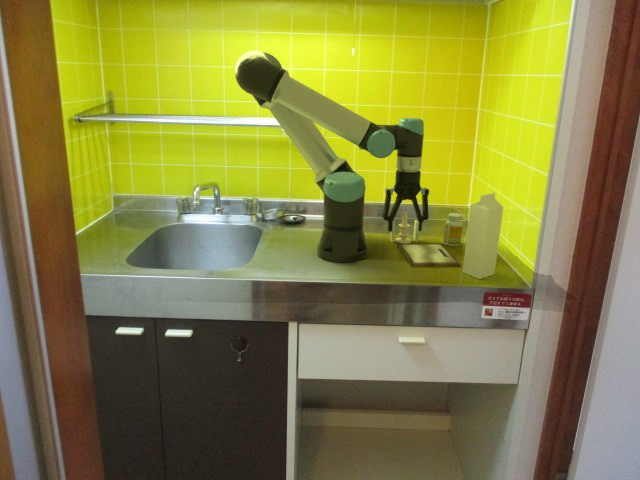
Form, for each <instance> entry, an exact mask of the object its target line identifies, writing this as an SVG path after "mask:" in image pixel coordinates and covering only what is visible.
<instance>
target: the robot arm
mask: <svg viewBox="0 0 640 480" xmlns="http://www.w3.org/2000/svg"><path fill="white" fill-rule="evenodd" d="M234 76H235V77H234V78H235V80H236V82H237V85H238V86H239V87H240V89H242V90H243V91H244V92H245V93H247V94H249V95H251V96H252V97H253V98H254V99H255V102H256V103H257V104H258V105H259V106H260V108H262V109H267V110H269V112H270V113H271V114H272V116H273V117H274V119H275V120H276V121H277V122H278V125H279V126H280V127H281V128H282V130H283V131H284V132H285V134H286V135H287V137H288V138H289V139H290V140H291V142H292V143H293V144H294V146H295V148H296V149H297V150H298V152H299V153H300V154H301V156H302V158H303V159H304V160H305V161H306V163H307V164H308V166H309V167H310V168H311V171H313V172H314V174H315V176H314V182H315V183H316V185H317V186H318V188H319V189H320V190H321V192H322V193H323V226H322V227H323V229H322V231H321V234H320V237H319V241H318V242H317V247H316V254H317V256H318V257H319V256H320V258H321V259H323V258H324V259H323V260H325V259H327V260H326V261H329V262H334V261H335V263H355V262H359V261H363V260H365V259H366V258H367V257H368V255H369V245H368V242H367V238H366V236H365V231H364V214H365V211H364V210H365V197H366V196H365V194H366V193H365V192H366V188H367V187H366V182H365V181H366V180H365V179H364V177H363V176H362V175H360V174H358V173H357V171H355V170H354V169H353V167H352V166H351V165H350V164H349V162H348V161H347V160H346V158H344V157H343V158H342V157H339V156H338V155H337V154H336V153H335V150H334V149H333V148H332V147H331V146H330V144H329V143H328V141H327V140H326V138H325V137H324V135H323V134H322V132H321V131H320V130H319V128H318V127H317V125H318V126H320V127H322V128H324V129H325V130H328V131H329V132H331V133H333V134H335V135H337V136H339V137H341V138H342V139H344V140H346V141H347V142H350V143H351V144H354V145H355V146H357V147H358V149H359V150H363V151H366V152H368V153H369V154H370V156H372V157H375V158H377V159H386V158H388V157H389V156H390V155H392V153H393V152H394V151H396V152H397V153H396V167H395V168H396V171H395V183H394V185H393V187H390V188H388V187H385V189H384V192H385V198H384V204H383V211H382V216H381V217H382V219H383V220H384V221H387V231H388V233H389V232H390V233H389V234H390V235H389V241H390V242H391V243H394V242H395V235H396V234H395V233H396V221H395V217H396V214H397V212H398V210H399V209H400V206H401V204H402V202H403V201H405V200H409V201H411V203H412V207H413V210H414V213H415V216H416V219H414V224H413V238H412V239H413V240H414V242H415V243H418V241H419V232H421V231H422V229H423V228H422V227H423V222H424V221H429V195H430V189H429V188H427V187H421V175H422V174H421V169H422V160H423V159H422V157H423V147H424V136H425V133H424V132H425V131H424V128H425V122H424V120H423V119H422V118H419V117H418V118H417V117H402V118H399V119H398V123H397V124H377V123H374V122H372V121H371V120H368V119H367V118H366V117H364V116H361V115H360V114H358V113H356V112H354V111H353V110H351V109H349V108H347V107H345V106H344V105H342V104H340V103H338V102H337V101H334V100H332V99H331V98H329V97H327V96H325V95H323V94H322V93H320V92H318V91H316V90H314V89H313V88H311V87H309V86H307V85H305V84H304V83H302V82H300V81H299V80H296V79H295V78H292V77H291V76H290V73H289V71H288V70H286V69H285V68H283V67H282V64H281V62H280V61H279V59H277V57H275V56H274V55H272V54H270V53H269V52H263V51H259V50H252V51H248V52H246V53H244V54H242V55H241V56H240V57H239V59H238V60H237V62H236V64H235V68H234ZM394 192H395V194H396V196H395V201H394V203H393V205H392V208H391V210H390V207H391V201H392V196H393V195H394ZM419 193H420V194H421V206H422V207H421V208H422V209H421V210H422V212H421V210H420V206H419V203H418V199H417V196H418V195H419Z"/></svg>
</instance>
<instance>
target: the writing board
mask: <svg viewBox="0 0 640 480" xmlns="http://www.w3.org/2000/svg"><path fill="white" fill-rule="evenodd" d="M397 248H398V249H399V251H400V252H401V253H402V255H403V257H404V258H405V259H406V261H407V262H408V264H409V266H410V267H411V268H430V267H431V268H433V267H436V268H438V267H442V268H444V267H448V268H449V267H461V266H462V264H461V262H459V260H458V259H457V257H455V256H454V255H453V253H451V251H449V249H447V248H446V246H445V244H444V243H434V244H433V243H430V244H429V243H424V244H422V243H420V244H411V243H409V244H398V245H397Z"/></svg>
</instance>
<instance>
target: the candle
mask: <svg viewBox="0 0 640 480" xmlns="http://www.w3.org/2000/svg"><path fill="white" fill-rule="evenodd" d="M408 214H409V213H408V211H407V210H405V211H402V219H401V223H399V224H398V227H400V233H398V236H399V237H397V238H394V242H395V243H397V244H399V245H406V244H411V243H412V239H411V238H409V237H410V234H409V233H408V228H410V227H411V225H410V224H409V223H408V219H409V217H408Z"/></svg>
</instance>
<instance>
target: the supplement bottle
mask: <svg viewBox="0 0 640 480" xmlns="http://www.w3.org/2000/svg"><path fill="white" fill-rule="evenodd" d="M461 220H462V214H460V213H456V212H455V213H454V212H452V213H448V215H447V220H446V221H445V223H444V229H443V230H444V233H443V239H442V240H443V241H442V242H443V243H442V244H443V245H444V246H445V245H446V246H450V247H458V246H460V245H461V243H462V235H463V227H464V224H463V222H462V221H461Z"/></svg>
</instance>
